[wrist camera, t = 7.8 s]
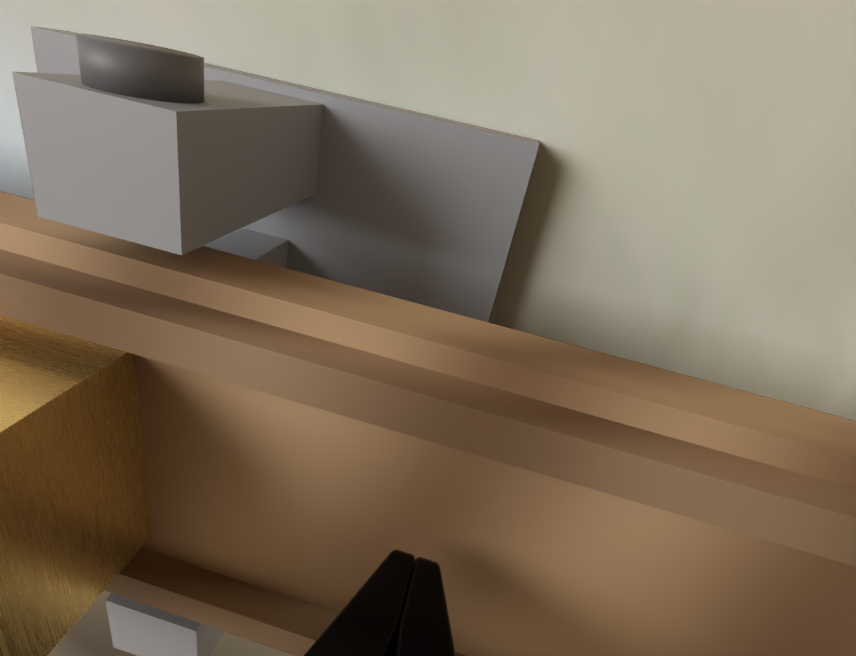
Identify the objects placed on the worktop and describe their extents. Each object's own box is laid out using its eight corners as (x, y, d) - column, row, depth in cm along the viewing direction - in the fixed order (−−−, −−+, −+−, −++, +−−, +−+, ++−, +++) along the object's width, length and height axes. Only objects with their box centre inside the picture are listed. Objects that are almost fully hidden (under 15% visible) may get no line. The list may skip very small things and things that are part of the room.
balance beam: (983, 455, 8) (1105, 554, 6) (727, 724, 12) (759, 829, 10) (-432, 75, 10) (-622, 71, 9) (-251, 401, 14) (-356, 443, 13)
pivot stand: (544, 122, 11) (552, 148, 6) (420, 553, 18) (372, 750, 12) (65, 12, 12) (-307, -52, 7) (121, 460, 19) (-43, 604, 13)
